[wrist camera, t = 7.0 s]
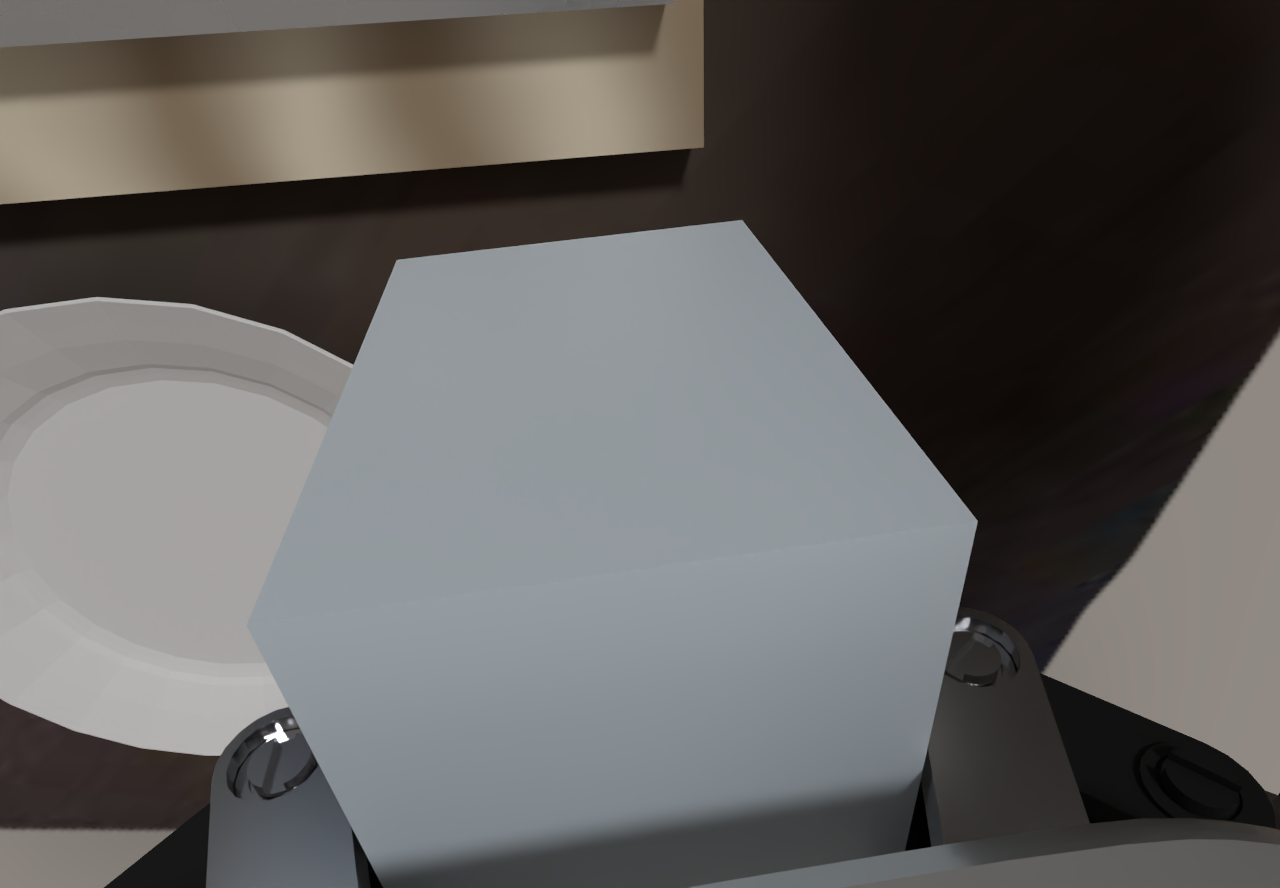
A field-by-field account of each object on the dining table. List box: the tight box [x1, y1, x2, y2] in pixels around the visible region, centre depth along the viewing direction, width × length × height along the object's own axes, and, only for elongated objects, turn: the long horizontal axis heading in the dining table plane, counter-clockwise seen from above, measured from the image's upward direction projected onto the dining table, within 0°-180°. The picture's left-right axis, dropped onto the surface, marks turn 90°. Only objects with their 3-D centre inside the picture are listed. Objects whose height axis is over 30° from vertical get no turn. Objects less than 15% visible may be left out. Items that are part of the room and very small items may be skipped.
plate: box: [0, 297, 354, 756], centre depth 28 cm, size 21×21×2 cm
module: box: [247, 220, 978, 888], centre depth 10 cm, size 5×9×7 cm, turn 5°
